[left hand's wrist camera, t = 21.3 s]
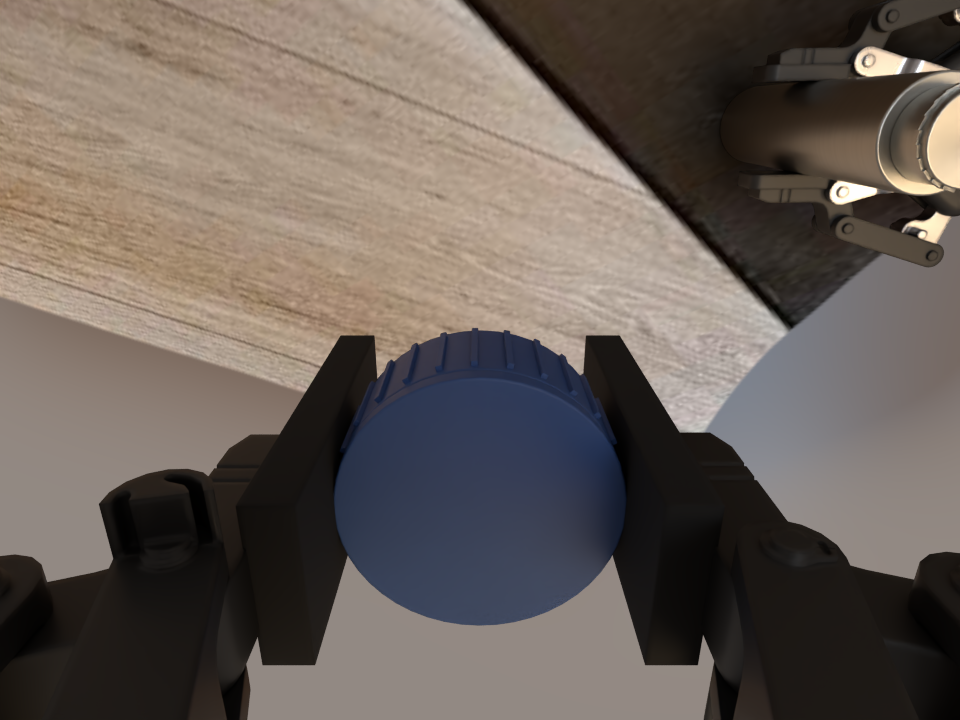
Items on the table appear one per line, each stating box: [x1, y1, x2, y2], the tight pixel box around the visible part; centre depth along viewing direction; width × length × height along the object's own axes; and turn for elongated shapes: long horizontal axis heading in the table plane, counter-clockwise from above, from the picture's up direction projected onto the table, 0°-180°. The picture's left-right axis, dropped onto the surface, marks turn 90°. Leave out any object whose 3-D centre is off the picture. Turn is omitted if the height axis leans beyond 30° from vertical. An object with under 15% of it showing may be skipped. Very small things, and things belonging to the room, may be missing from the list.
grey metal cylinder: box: [720, 70, 960, 196], centre depth 28 cm, size 4×4×18 cm
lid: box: [334, 328, 627, 625], centre depth 11 cm, size 5×5×2 cm
